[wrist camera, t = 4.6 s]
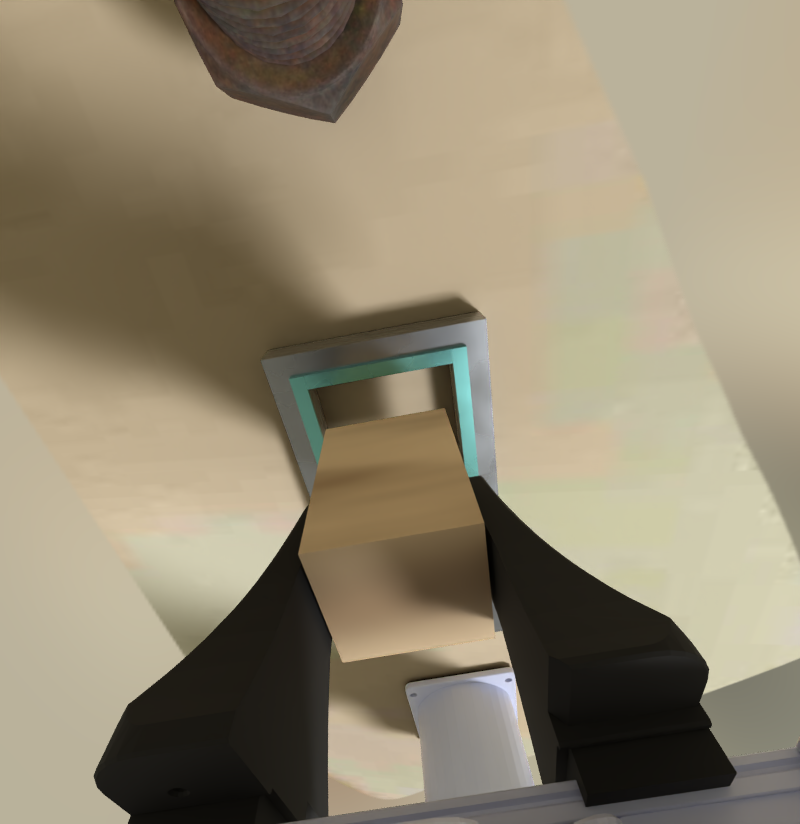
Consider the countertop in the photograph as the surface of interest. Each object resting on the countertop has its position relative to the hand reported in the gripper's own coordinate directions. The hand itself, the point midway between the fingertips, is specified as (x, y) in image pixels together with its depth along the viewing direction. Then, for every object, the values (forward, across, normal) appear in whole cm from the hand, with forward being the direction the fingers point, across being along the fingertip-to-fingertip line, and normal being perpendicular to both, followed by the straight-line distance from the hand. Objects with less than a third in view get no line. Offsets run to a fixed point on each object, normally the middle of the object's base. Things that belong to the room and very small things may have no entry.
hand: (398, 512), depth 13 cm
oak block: (+3, 0, 0) cm, 3 cm away
